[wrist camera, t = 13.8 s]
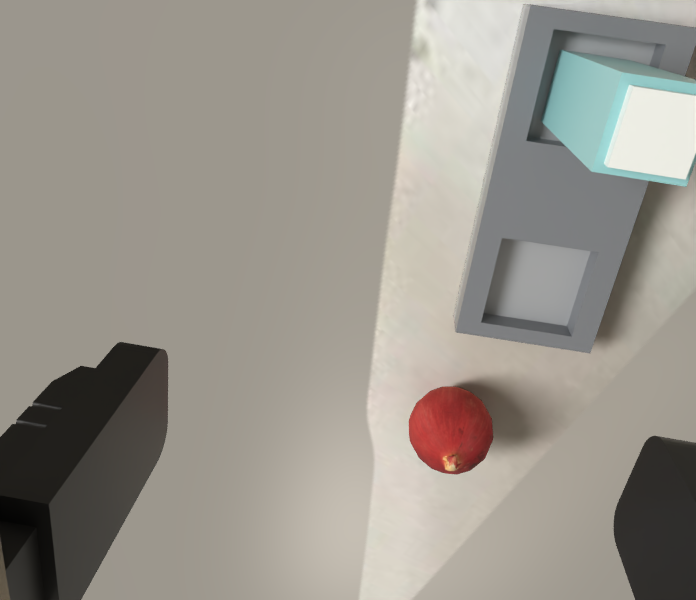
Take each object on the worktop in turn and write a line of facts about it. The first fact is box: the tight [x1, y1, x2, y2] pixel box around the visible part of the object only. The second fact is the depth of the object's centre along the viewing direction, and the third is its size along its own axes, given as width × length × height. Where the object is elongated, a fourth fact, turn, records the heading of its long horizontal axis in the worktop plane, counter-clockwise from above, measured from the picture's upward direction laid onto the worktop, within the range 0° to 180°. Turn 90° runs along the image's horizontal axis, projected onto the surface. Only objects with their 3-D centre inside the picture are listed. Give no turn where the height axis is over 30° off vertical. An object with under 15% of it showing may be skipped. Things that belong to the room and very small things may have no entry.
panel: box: [454, 4, 696, 353], centre depth 39 cm, size 20×9×2 cm, turn 173°
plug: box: [541, 49, 696, 187], centre depth 31 cm, size 4×5×13 cm
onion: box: [409, 387, 493, 474], centre depth 44 cm, size 6×6×8 cm
